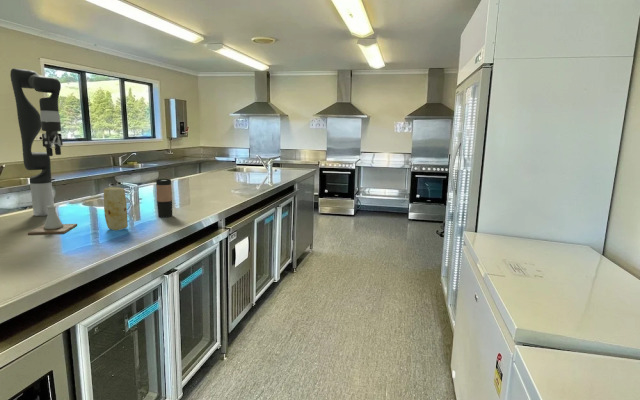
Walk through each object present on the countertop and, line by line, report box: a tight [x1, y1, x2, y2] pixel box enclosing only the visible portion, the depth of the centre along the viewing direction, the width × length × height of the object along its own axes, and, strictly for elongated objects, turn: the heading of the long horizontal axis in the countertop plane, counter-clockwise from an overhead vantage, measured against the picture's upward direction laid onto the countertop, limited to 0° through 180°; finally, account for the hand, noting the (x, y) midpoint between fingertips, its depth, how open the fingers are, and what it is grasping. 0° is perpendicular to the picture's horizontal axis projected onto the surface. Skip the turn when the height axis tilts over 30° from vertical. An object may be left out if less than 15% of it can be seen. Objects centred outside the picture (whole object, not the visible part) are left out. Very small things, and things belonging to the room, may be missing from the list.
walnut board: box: [27, 223, 78, 236], centre depth 169 cm, size 14×14×1 cm
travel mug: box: [155, 178, 173, 218], centre depth 200 cm, size 8×8×20 cm
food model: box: [103, 186, 129, 232], centre depth 171 cm, size 10×7×20 cm
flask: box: [43, 205, 64, 229], centre depth 168 cm, size 7×7×10 cm
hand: (54, 155), depth 177 cm, fingers open, 8 cm apart
